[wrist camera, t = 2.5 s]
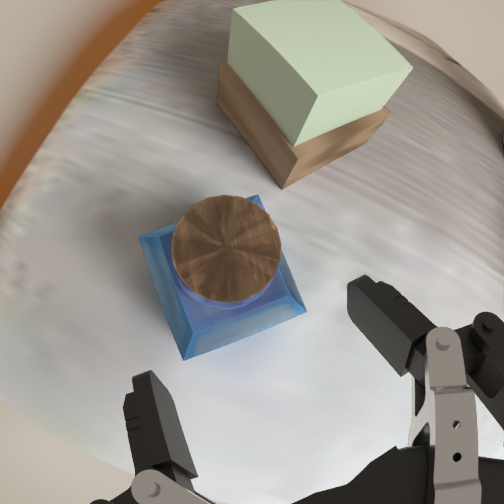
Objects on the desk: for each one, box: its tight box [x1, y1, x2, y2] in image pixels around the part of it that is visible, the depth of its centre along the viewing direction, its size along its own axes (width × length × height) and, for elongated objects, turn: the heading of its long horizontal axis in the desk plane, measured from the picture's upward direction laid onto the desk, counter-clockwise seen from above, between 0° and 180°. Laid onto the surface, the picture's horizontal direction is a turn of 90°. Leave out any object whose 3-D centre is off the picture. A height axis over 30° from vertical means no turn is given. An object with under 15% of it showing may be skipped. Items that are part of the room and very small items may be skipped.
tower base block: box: [217, 61, 391, 190], centre depth 22 cm, size 9×9×5 cm
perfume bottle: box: [139, 195, 307, 361], centre depth 15 cm, size 6×6×12 cm
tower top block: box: [227, 0, 413, 147], centre depth 17 cm, size 8×8×5 cm
